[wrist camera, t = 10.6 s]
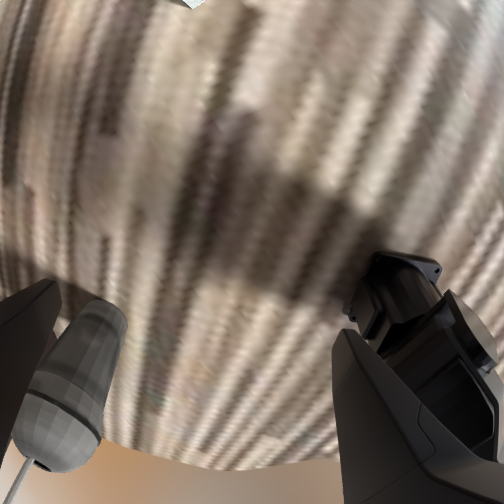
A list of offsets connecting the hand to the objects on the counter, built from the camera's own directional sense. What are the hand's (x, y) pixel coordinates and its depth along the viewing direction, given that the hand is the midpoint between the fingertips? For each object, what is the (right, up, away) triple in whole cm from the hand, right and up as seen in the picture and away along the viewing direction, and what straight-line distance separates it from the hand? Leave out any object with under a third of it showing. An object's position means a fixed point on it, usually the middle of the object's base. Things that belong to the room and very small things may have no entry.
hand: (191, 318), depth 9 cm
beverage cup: (-12, -4, +18) cm, 22 cm away
